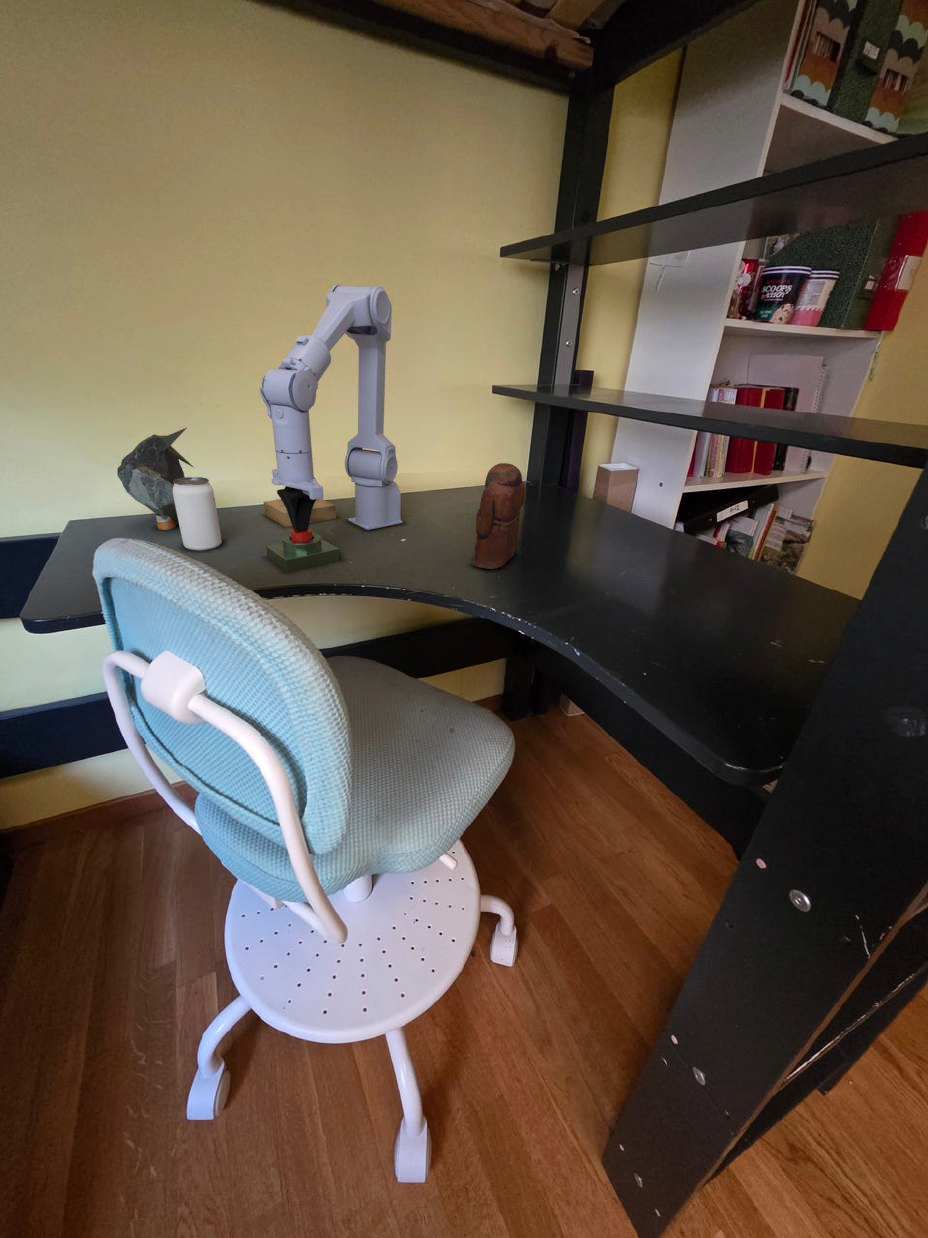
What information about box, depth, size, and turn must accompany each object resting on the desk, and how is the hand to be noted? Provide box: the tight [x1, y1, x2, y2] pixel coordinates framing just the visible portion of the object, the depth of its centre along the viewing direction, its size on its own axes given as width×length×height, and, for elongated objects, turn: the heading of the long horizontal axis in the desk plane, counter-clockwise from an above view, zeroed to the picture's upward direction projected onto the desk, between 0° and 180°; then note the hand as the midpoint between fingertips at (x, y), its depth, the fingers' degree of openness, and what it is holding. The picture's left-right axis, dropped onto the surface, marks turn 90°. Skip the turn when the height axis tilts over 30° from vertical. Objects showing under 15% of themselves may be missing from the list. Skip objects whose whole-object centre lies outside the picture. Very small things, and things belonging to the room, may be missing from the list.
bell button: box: [289, 528, 313, 542], centre depth 90 cm, size 4×4×2 cm
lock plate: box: [263, 498, 337, 528], centre depth 113 cm, size 12×10×3 cm
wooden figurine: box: [472, 462, 526, 570], centre depth 94 cm, size 12×6×18 cm, turn 156°
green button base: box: [265, 532, 340, 573], centre depth 92 cm, size 10×8×4 cm
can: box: [173, 476, 223, 552], centre depth 92 cm, size 6×6×12 cm
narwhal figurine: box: [117, 427, 194, 531], centre depth 101 cm, size 14×15×18 cm
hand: (301, 530), depth 90 cm, fingers closed
